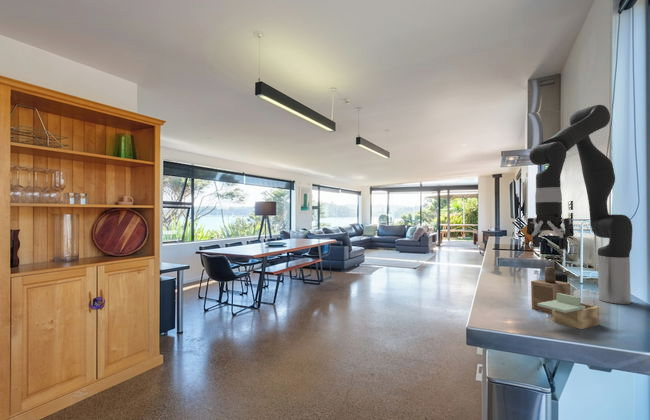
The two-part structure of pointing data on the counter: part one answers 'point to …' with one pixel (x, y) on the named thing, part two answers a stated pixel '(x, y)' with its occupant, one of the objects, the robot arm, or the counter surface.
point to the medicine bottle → (563, 279)
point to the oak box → (578, 317)
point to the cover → (547, 290)
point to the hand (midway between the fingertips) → (549, 248)
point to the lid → (563, 303)
